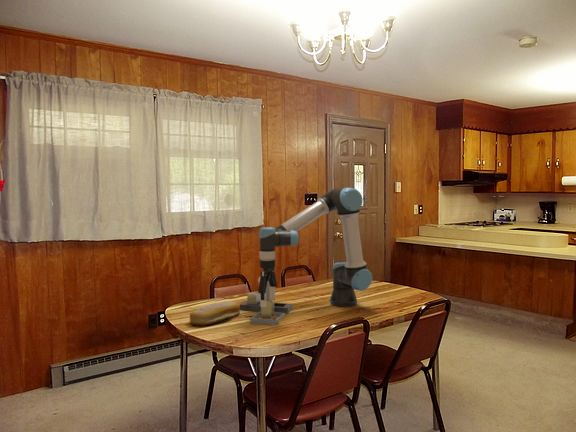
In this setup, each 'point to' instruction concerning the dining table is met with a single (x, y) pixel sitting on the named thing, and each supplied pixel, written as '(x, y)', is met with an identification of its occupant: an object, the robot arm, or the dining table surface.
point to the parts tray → (266, 321)
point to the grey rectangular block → (253, 298)
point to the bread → (214, 313)
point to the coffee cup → (267, 291)
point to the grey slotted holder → (277, 307)
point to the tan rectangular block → (268, 310)
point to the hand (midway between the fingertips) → (267, 303)
